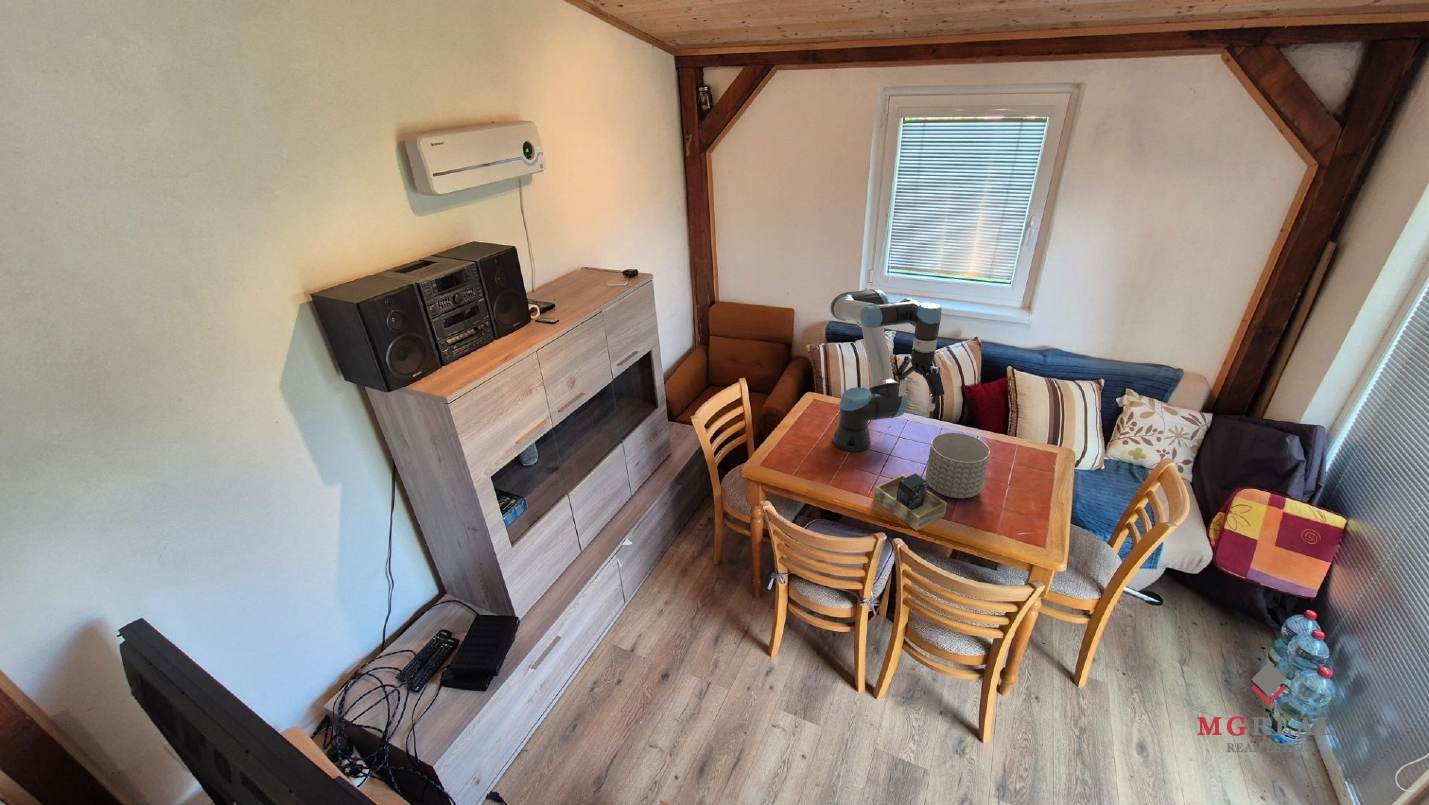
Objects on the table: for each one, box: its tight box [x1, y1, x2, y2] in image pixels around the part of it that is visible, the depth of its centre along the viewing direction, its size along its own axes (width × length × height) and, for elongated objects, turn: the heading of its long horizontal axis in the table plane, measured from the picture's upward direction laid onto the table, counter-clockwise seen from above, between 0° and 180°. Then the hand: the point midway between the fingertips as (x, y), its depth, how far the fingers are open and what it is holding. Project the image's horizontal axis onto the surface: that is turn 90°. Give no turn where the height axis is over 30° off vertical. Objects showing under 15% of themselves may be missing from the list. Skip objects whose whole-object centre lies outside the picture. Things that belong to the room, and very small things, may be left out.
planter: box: [924, 431, 991, 499], centre depth 200 cm, size 19×19×18 cm
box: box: [896, 472, 928, 510], centre depth 193 cm, size 8×6×11 cm
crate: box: [873, 473, 948, 531], centre depth 195 cm, size 20×14×6 cm
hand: (915, 402), depth 202 cm, fingers open, 13 cm apart
